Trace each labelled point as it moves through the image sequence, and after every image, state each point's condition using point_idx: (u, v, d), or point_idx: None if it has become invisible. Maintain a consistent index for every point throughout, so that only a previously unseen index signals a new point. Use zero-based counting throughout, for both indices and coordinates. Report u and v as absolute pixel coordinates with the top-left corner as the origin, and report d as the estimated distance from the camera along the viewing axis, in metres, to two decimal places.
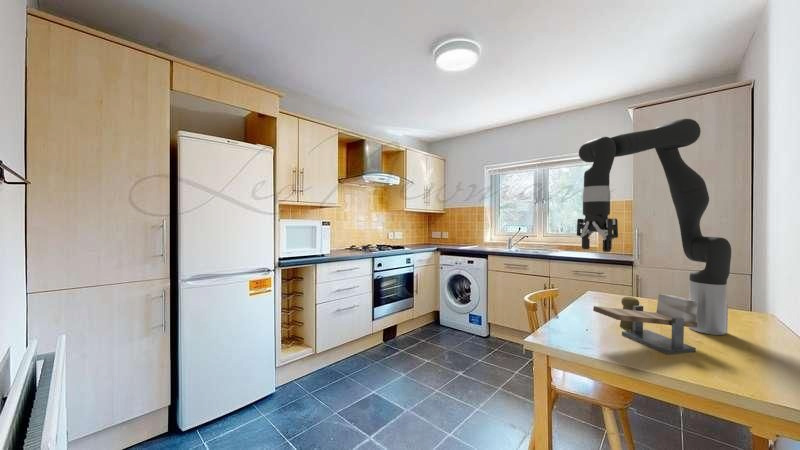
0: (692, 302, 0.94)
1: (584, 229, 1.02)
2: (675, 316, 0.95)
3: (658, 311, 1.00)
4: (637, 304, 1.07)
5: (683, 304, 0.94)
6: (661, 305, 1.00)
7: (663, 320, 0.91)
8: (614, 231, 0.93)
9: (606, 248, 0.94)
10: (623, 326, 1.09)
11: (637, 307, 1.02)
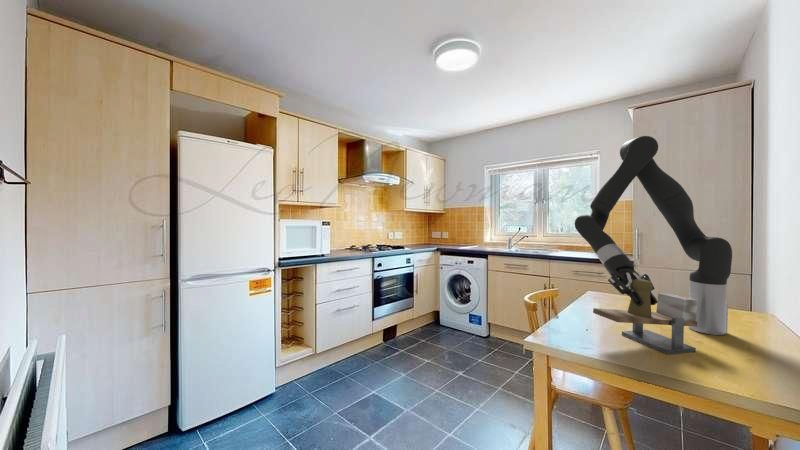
0: (691, 301, 0.94)
1: None
2: (675, 315, 0.95)
3: (658, 310, 1.00)
4: (650, 287, 0.93)
5: (682, 304, 0.94)
6: (661, 304, 1.00)
7: (663, 320, 0.91)
8: None
9: None
10: (632, 311, 0.95)
11: None
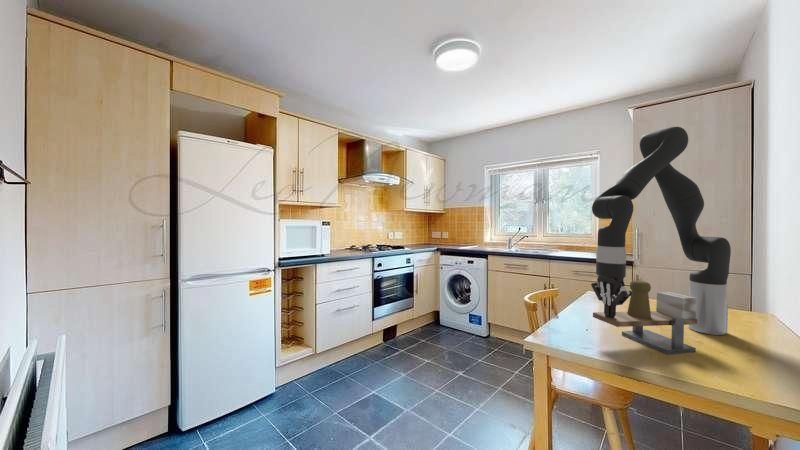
0: (690, 299, 0.94)
1: (602, 292, 0.94)
2: (675, 314, 0.95)
3: (658, 310, 1.00)
4: (648, 288, 0.93)
5: (681, 303, 0.93)
6: (660, 303, 1.00)
7: (663, 321, 0.91)
8: None
9: (610, 314, 0.92)
10: (631, 314, 0.95)
11: None
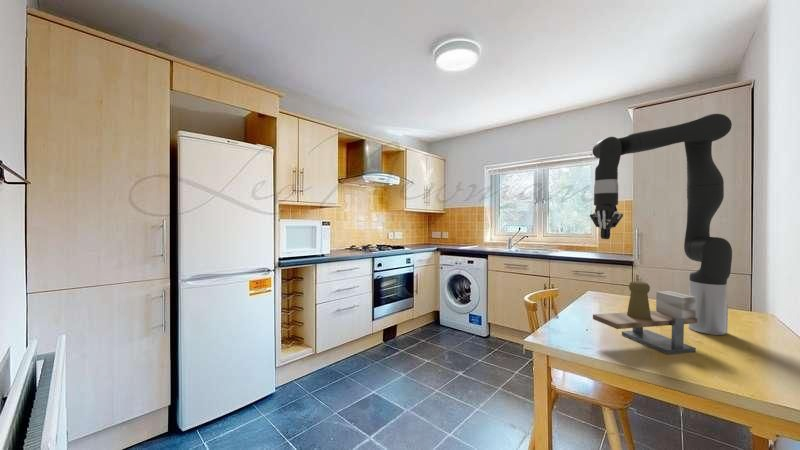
0: (690, 299, 0.93)
1: (599, 219, 1.14)
2: (675, 314, 0.95)
3: (658, 309, 1.00)
4: (647, 289, 0.93)
5: (681, 302, 0.93)
6: (660, 303, 1.00)
7: (663, 321, 0.91)
8: None
9: (606, 236, 1.12)
10: (631, 315, 0.95)
11: None
